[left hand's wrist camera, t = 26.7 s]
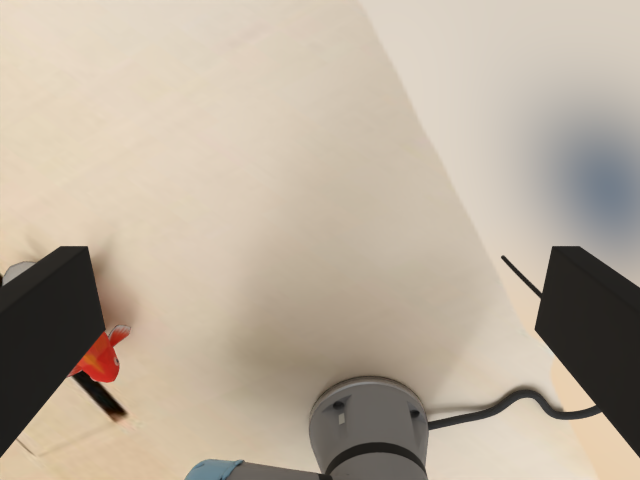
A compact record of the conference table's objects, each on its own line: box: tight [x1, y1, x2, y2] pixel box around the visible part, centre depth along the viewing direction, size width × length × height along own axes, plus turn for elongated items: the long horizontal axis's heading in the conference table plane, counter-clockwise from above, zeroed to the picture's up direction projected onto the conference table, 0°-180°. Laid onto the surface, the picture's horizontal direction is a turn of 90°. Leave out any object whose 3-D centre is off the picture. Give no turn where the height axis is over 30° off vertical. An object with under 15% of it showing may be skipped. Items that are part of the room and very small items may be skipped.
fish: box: [2, 262, 131, 383], centre depth 47 cm, size 11×16×10 cm
